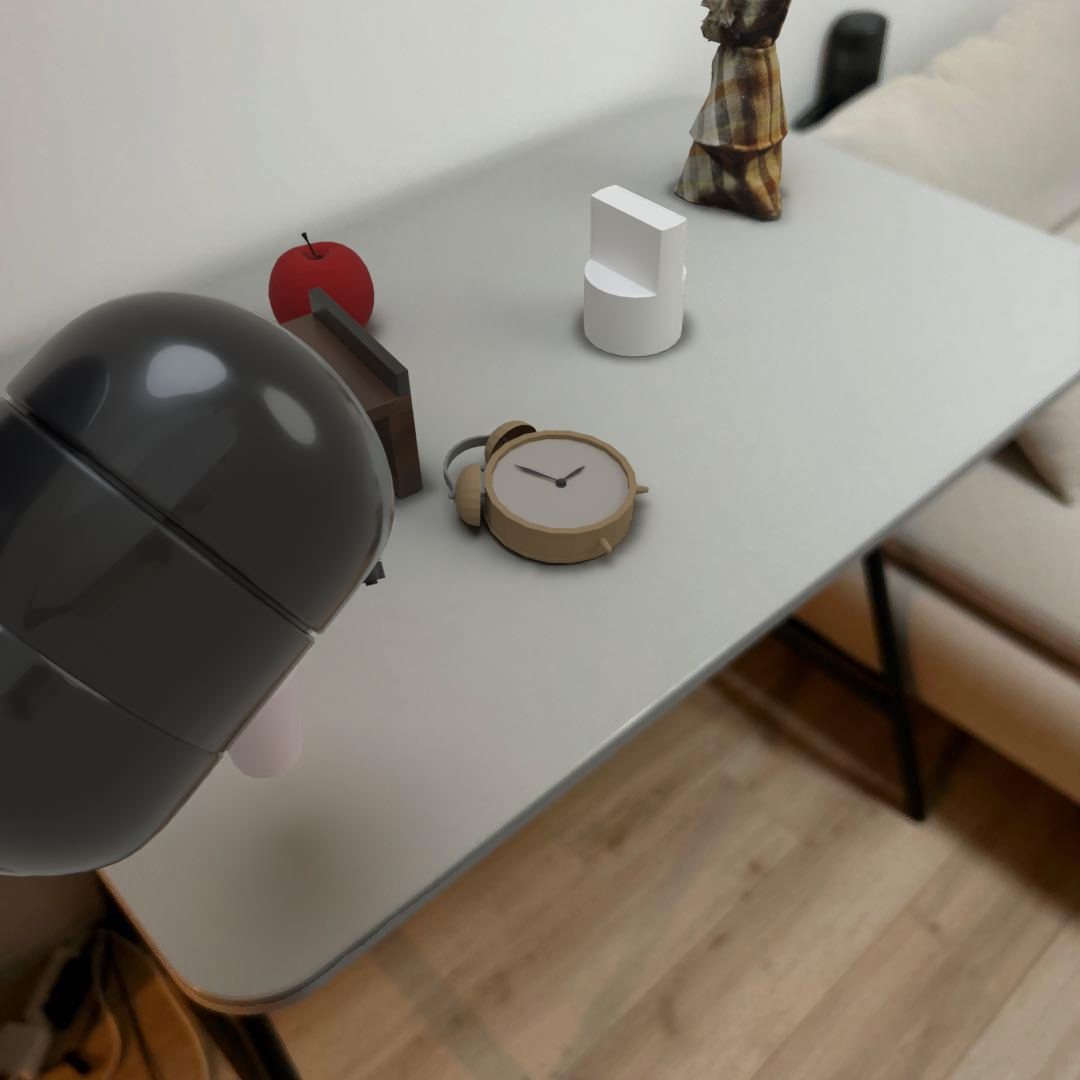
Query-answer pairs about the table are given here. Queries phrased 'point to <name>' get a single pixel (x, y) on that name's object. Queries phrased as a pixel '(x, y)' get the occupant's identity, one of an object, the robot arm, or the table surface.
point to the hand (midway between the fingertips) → (222, 593)
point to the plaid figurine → (740, 112)
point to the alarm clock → (547, 492)
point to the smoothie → (272, 734)
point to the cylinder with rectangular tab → (634, 274)
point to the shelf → (367, 382)
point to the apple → (320, 281)
